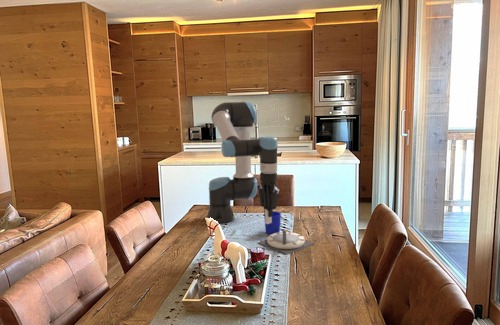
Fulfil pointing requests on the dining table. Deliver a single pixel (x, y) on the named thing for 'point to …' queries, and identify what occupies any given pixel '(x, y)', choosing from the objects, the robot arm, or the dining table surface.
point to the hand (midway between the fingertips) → (268, 223)
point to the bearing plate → (286, 251)
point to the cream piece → (285, 240)
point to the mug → (273, 223)
